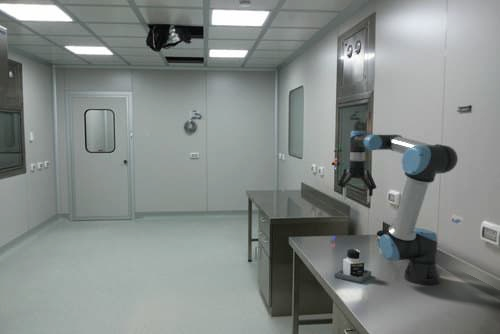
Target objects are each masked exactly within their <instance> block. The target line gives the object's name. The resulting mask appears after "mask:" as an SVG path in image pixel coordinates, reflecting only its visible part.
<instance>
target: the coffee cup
mask: <svg viewBox="0 0 500 334" xmlns="http://www.w3.org/2000/svg"><path fill="white" fill-rule="evenodd" d="M387 233H388V229H387V230H386V229H385V230H383V229H381V230H378V231H377V233H376V236H377V241H378V243H379V240H380V237H381V236H382V235H384V234H386V235H387ZM378 248H379V252H380V254H381V255H383V254H382V252H381V249H380V246H379V245H378Z"/></svg>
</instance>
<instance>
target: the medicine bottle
mask: <svg viewBox="0 0 500 334" xmlns="http://www.w3.org/2000/svg"><path fill="white" fill-rule="evenodd" d="M361 253H362V252H361V250H359V249H356V248H351V249H347V251H346V258H343V260H342V262H343V263H342V265H343V267H342V268H343V273H344V274H346V275H351V276H355V277H361V276H363V275H364V269H365V262H364V261H363V260H361Z"/></svg>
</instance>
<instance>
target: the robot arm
mask: <svg viewBox="0 0 500 334" xmlns="http://www.w3.org/2000/svg"><path fill="white" fill-rule="evenodd" d="M349 140H350V141H349V143H350V144H349V151H350V152H349V160H350V161H349V168H345V169H344V170H343V173H342V175H341V177H340V180H339V181H338V183H337V186H339V187H340V189H341V194H342V200H343V201H345V200H346V199H347V187H346V186H347V184H349V182H350V181H352V179H357V180H358V179H361V181H362V182H363V183H364V184H365V185H366V187H367V195H366V196H367V197H366V198H367V199H366V202H367V203H371V199H372V197H373V194H374V193H373V192H374V191H373V190H375V189H377V185H376V183H375V181H374V179H373V175H372V172H371V170H370V169H369V170H366V169H365V166H366V162H365V160H366V150H368V151H378V150H379V151H382V150H383V151H384V150H385V151H386V150H390V151H392V152H396V153H399V154H402V158H401V164H402V166H401V167H402V170H403V171H404V175H405V177H406V180H405V184H404V188H403V191H402V194H401V198H400V202H399V205H398V208H397V212H396V215H395V219H394V222H393V225H390V226H389V227H388V229H387V230H388V233H387V235H386V234H384V235H382V236H381V237H380V240H379V242H378V247H379V246H380V248H379V250H380V249H381V252H382V254H381V255H382V256H383V258H385V259H386V260H387V261H390V262H391V261H393V262H394V261H396V262H398V261H404V260H408V262H407V264H406V266H405V270H404V272H403V274H404V275H403V278H404V279H405V280H406V281H409V282H411V283H413V284H418V285H426V286H427V285H428V286H431V285H437V284H440V282H441V280H440V279H441V278H440V274H439V270H438V267H437V249H438V234H437V233H436V232H434V231H433V230H429V229H425V228H418V227H416V225H417V222H418V218H419V215H420V213H421V209H422V206H423V202H424V200H425V196H426V193H427V190H428V187H429V184H432V183H433V182H434V181H435V178H436V175H437V174H446V173H449V172H451V171H452V170H454V168H455V167H456V165H457V163H458V159H459V158H458V154H457V151H456V150H455V149H454V148H452V147H450V146H448V145H443V144H439V143H436V144H433V145H432V144H429V143H425V142H422V141H417V140H414V139H410V138H406V137H403V136H402V135H401V134H367V133H366V131H365V130H352V131H350V138H349ZM348 174H349V175H348ZM347 175H348V176H347ZM365 175H366V176H367V178H368V179H367V178H366V176H365ZM346 177H347V178H346ZM345 179H346V180H345Z"/></svg>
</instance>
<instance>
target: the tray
mask: <svg viewBox="0 0 500 334" xmlns="http://www.w3.org/2000/svg"><path fill="white" fill-rule="evenodd" d="M371 277H372V270H368V269H365V268H364V275H363V276H361V277H355V276H351V275H346V274H344V273H343V267H342V268H340V269H338V270H337V271H335V272H334V278H335V279H339V280H343V281H347V282H352V283H355V284H358V285H359V284H360V285H361V284H362V283H364V282H366V281H367V280H368V279H369V278H371Z"/></svg>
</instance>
